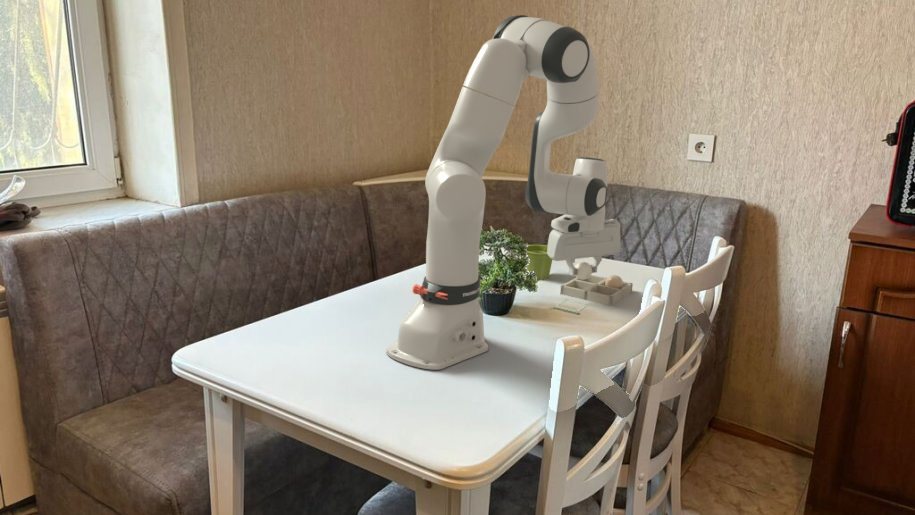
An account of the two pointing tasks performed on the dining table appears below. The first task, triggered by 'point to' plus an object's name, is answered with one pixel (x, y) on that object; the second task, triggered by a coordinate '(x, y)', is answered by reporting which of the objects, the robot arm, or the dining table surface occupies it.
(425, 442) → the dining table surface
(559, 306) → the glass coaster
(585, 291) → the egg tray
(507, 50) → the robot arm
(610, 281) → the brown egg
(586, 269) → the off-white ball
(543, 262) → the plant pot
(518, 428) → the dining table surface
